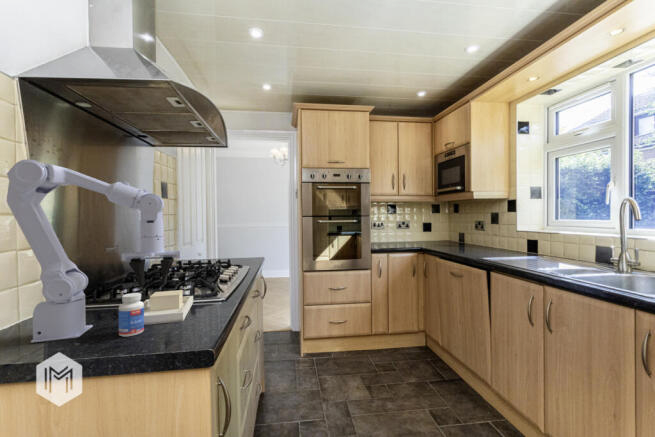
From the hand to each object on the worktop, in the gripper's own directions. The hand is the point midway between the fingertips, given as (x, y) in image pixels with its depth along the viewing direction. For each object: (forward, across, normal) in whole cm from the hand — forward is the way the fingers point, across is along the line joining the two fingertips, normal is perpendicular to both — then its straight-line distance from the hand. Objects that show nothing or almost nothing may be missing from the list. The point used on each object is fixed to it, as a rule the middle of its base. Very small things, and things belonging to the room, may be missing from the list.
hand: (153, 284), depth 82 cm
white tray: (+10, +1, +7) cm, 13 cm away
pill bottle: (+11, -3, -7) cm, 13 cm away
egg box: (+10, +1, +11) cm, 15 cm away
